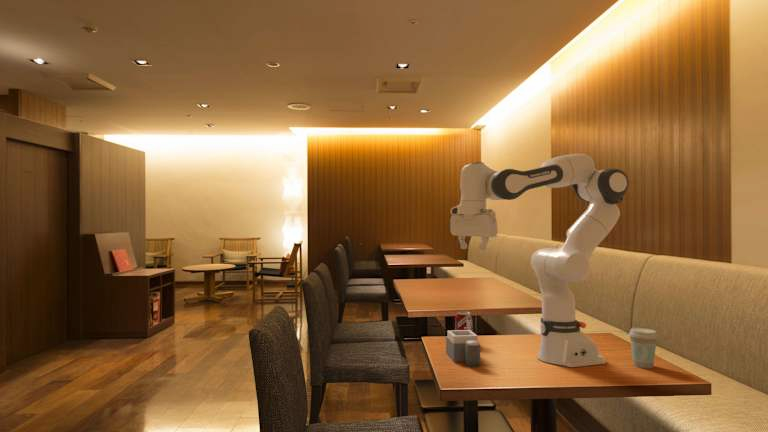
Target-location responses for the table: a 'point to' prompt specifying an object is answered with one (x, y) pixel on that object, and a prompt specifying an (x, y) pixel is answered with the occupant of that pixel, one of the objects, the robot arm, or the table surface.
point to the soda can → (463, 321)
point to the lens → (472, 353)
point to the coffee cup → (643, 346)
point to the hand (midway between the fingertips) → (473, 249)
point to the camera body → (458, 343)
